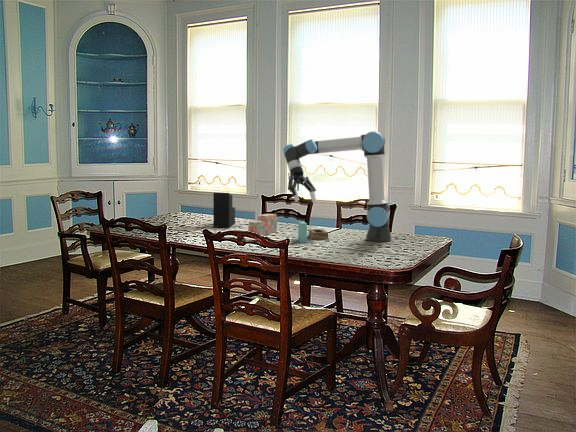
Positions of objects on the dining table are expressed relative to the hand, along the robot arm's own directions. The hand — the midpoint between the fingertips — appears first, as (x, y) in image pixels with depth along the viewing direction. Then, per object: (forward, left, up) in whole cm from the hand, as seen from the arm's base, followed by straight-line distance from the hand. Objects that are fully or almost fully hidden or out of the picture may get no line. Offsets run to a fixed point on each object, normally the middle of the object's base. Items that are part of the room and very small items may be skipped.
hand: (306, 201), depth 333 cm
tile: (-1, -5, -24) cm, 25 cm away
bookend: (+17, -80, -25) cm, 86 cm away
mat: (-1, -5, -24) cm, 25 cm away
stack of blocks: (+9, -37, -25) cm, 46 cm away
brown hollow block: (-16, -12, -24) cm, 32 cm away
